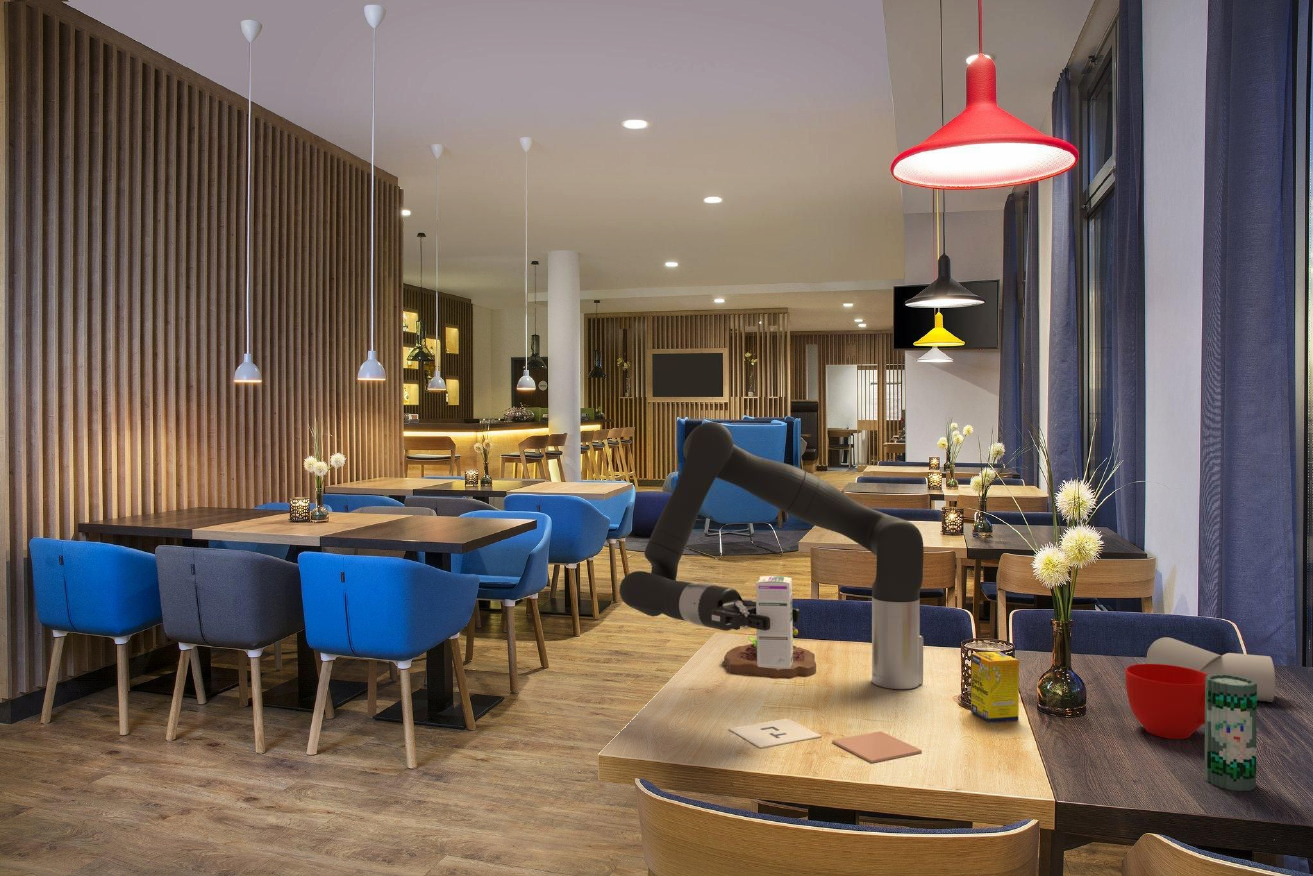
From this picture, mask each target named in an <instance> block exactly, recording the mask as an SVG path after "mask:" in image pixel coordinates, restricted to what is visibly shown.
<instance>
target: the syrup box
mask: <svg viewBox="0 0 1313 876" xmlns="http://www.w3.org/2000/svg"><path fill="white" fill-rule="evenodd" d="M792 579H793V578H792V577H791V576H784V575H764V576H763V575H762V576H759V578H758V579H757V581H756V583H755V593H756V594H755V597H756V598H755V601H756V615H762V616H767V617H769V618H770V629H769V630H767V631H764V630H760V629H756V640H757V666H758V667H765V668H783V669H790V668H791V665H792V662H793V646H794V640H793V638H794V635H793V627H794V626H793V625H794V624H793V623H794V622H793V616H792V608H793V580H792Z"/></svg>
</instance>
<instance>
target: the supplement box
mask: <svg viewBox="0 0 1313 876" xmlns="http://www.w3.org/2000/svg"><path fill="white" fill-rule="evenodd" d="M970 667H971V669H970V670H971V676H970V677H971V688H970V689H971V691H970V692H971V694H970V695H971V697H970V698H971V699H970V701H971V702H970V703H971V705H970V707H971V709H970V711H971V713H972V714H974V715H976V716H978V717H980V718H981V719H983V720H985V721H986V722H987V723H990V724H992V723H1004V722H1013V721H1015V722H1016V721H1019V709H1020V708H1019V706H1020V705H1019V704H1020V701H1019V695H1020V693H1019V692H1020V688H1019V687H1020V683H1019V682H1020V660H1019V659H1017V658H1014V657H1012V656H1010V655H1007V654H1005V653H1003V652H1002V651H999V650H998V651H985V652H984V651H983V652H973V653H971V666H970Z"/></svg>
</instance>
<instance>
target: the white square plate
mask: <svg viewBox="0 0 1313 876" xmlns="http://www.w3.org/2000/svg"><path fill="white" fill-rule="evenodd" d="M728 730H729V731H731V733H734V734H736V735H737V736H739V737H740V738H742V739H744V740H745V741H747V742H749V743H751V744H752V745H753V746H756V747H757V748H759V749H764V748H770V747H775V746H780V745H785V744H791V743H796V742H803V741H808V740H813V739H818V738H822V735H821V734H819V733H817V732H815V731H813V730H811V729H809V728H808V727H806V726H803V725H801V724H800V723H798V722H796V721H793V720H792V719H790V718H783V719H782V718H781V719H777V720H776V719H775V720H771V721H769V720H768V721H766V722H759V723H754V724H747V725H742V726H741V725H740V726H736V727H735V726H734V727H730V728H728Z"/></svg>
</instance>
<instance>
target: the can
mask: <svg viewBox="0 0 1313 876" xmlns="http://www.w3.org/2000/svg"><path fill="white" fill-rule="evenodd" d="M1257 706H1258V701H1257V683H1256V682H1255V681H1254V680H1250V679H1249V678H1245V677H1241V676H1234V675H1225V674H1218V675H1217V674H1213V675H1207V676H1205V724H1204V779H1205V780H1206V782H1207V783H1210V785H1214V786H1216V787H1219V788H1223V789H1226V790H1232V791H1240V792H1243V791H1247V792H1249V791H1252V790H1255V788H1256V789H1257V733H1258V732H1257V730H1258V729H1257V726H1258V724H1257V723H1258V722H1257V721H1258V718H1257V717H1258V714H1257V713H1258V711H1257V710H1258V709H1257V708H1258V707H1257Z"/></svg>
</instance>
